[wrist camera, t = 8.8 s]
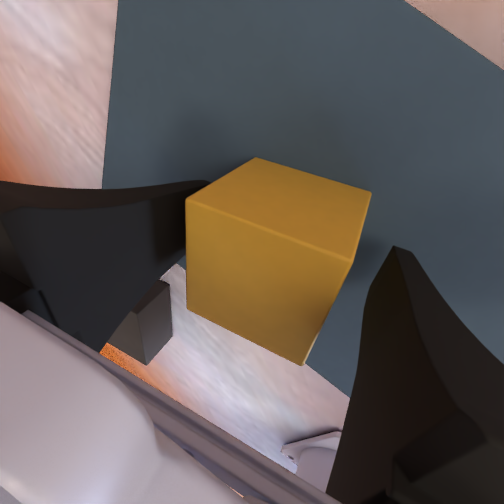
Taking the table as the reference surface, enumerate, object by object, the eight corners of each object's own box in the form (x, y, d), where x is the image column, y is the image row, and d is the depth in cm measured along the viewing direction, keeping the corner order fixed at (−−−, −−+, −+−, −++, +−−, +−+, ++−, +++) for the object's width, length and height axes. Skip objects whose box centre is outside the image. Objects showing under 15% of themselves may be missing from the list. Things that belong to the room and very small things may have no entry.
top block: (372, 191, 9) (353, 262, 6) (331, 284, 12) (302, 368, 9) (255, 156, 10) (183, 197, 7) (241, 247, 13) (185, 309, 10)
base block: (169, 284, 19) (136, 314, 16) (172, 336, 22) (146, 366, 20) (103, 252, 20) (66, 275, 18) (117, 306, 24) (87, 330, 22)
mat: (779, 268, 7) (806, 283, 6) (370, 403, 16) (369, 413, 16) (150, -174, 7) (134, -190, 7) (108, 200, 17) (99, 203, 16)
